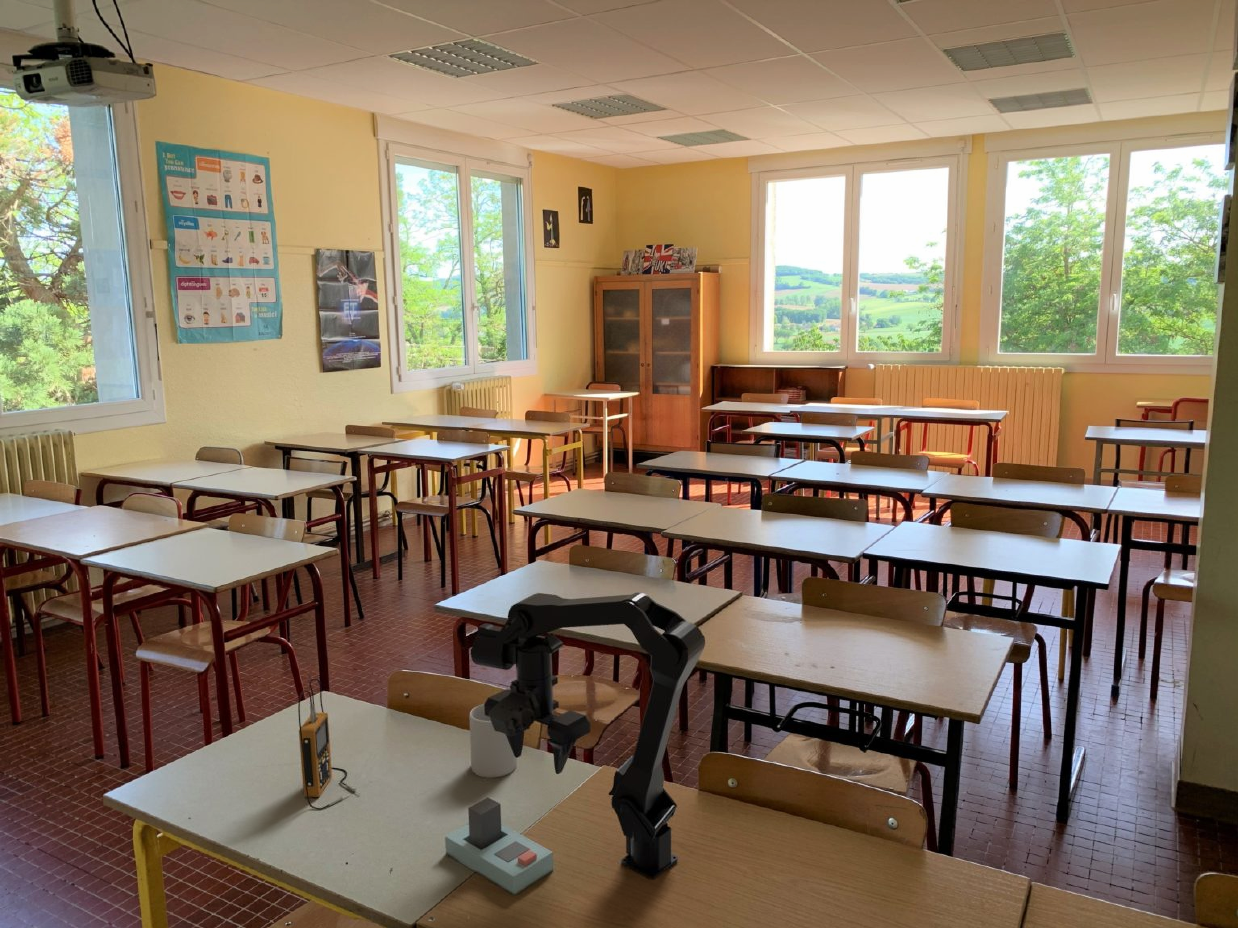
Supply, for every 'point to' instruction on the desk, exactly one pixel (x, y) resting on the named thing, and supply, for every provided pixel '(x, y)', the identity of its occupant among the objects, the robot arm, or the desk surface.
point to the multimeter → (316, 752)
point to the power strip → (502, 858)
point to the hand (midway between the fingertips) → (538, 764)
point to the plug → (485, 823)
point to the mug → (489, 747)
